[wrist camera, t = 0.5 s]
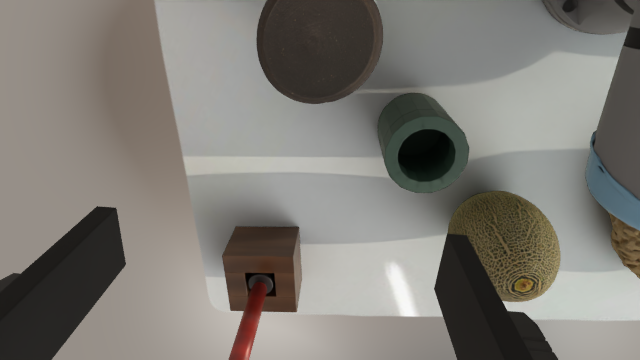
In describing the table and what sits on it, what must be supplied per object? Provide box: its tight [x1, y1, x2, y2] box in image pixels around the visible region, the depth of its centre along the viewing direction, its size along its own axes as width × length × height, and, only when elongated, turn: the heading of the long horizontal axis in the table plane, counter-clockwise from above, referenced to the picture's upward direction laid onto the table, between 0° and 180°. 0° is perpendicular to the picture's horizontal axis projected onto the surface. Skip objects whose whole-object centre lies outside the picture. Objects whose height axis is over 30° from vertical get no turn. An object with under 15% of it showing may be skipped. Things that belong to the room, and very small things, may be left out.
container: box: [257, 0, 383, 104], centre depth 36 cm, size 9×9×20 cm
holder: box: [222, 227, 302, 312], centre depth 55 cm, size 9×9×7 cm
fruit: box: [448, 191, 560, 302], centre depth 47 cm, size 11×11×15 cm
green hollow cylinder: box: [378, 93, 469, 193], centre depth 45 cm, size 8×8×10 cm
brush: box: [229, 273, 275, 360], centre depth 49 cm, size 3×3×21 cm
